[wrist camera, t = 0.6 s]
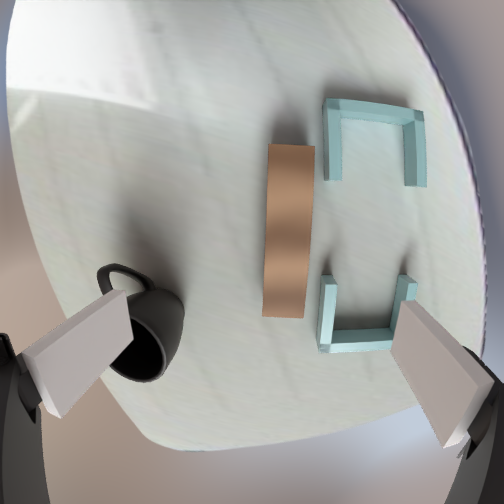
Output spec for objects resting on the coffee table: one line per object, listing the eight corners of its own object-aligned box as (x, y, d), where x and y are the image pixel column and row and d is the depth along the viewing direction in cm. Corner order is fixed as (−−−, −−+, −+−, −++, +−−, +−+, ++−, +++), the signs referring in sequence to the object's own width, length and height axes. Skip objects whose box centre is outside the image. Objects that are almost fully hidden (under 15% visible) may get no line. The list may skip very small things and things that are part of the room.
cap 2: (395, 335, 30) (404, 347, 27) (316, 339, 31) (318, 352, 28) (407, 274, 28) (418, 283, 25) (321, 275, 29) (325, 284, 26)
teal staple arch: (322, 106, 25) (326, 97, 22) (411, 117, 24) (423, 111, 21) (324, 180, 27) (329, 179, 24) (413, 186, 26) (426, 187, 23)
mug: (174, 239, 30) (132, 262, 21) (203, 334, 33) (179, 383, 23) (116, 254, 31) (68, 278, 22) (147, 340, 34) (113, 382, 25)
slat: (270, 150, 27) (268, 143, 23) (309, 152, 27) (314, 146, 23) (264, 298, 31) (262, 316, 27) (300, 300, 31) (303, 318, 26)
